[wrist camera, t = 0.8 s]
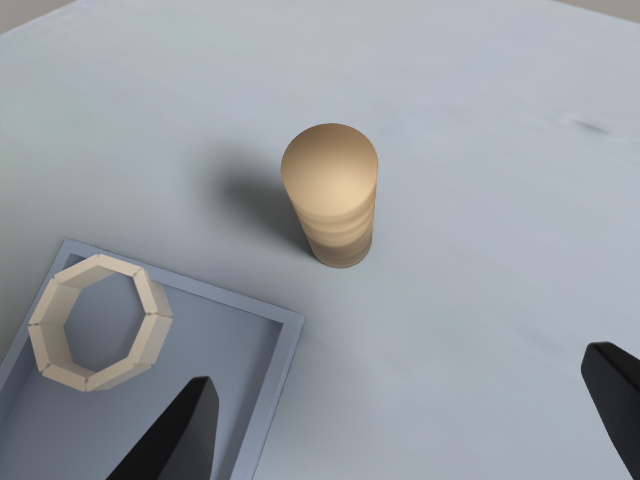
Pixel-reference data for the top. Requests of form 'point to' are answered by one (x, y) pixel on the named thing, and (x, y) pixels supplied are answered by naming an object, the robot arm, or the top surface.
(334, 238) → the peg
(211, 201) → the top surface
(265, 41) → the top surface
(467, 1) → the top surface
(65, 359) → the tray
